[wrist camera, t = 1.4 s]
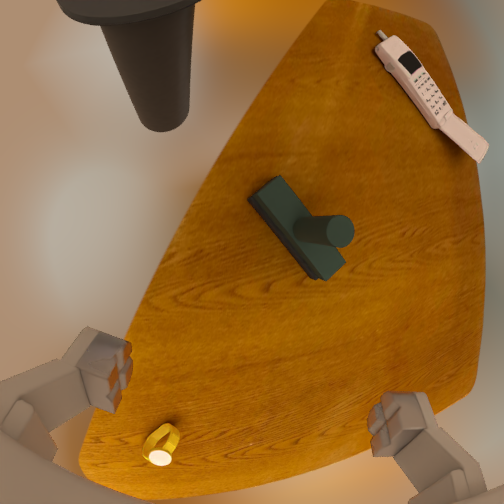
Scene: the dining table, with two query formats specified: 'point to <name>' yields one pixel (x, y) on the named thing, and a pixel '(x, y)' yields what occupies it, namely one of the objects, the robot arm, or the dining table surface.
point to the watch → (163, 453)
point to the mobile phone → (428, 95)
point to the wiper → (303, 229)
